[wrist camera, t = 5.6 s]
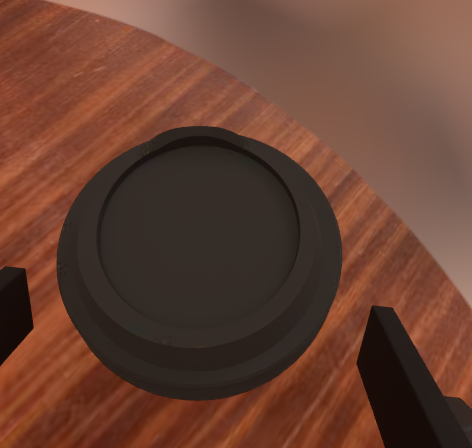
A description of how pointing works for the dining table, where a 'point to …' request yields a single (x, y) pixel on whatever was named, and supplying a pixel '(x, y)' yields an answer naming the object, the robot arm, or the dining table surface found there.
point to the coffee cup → (199, 263)
